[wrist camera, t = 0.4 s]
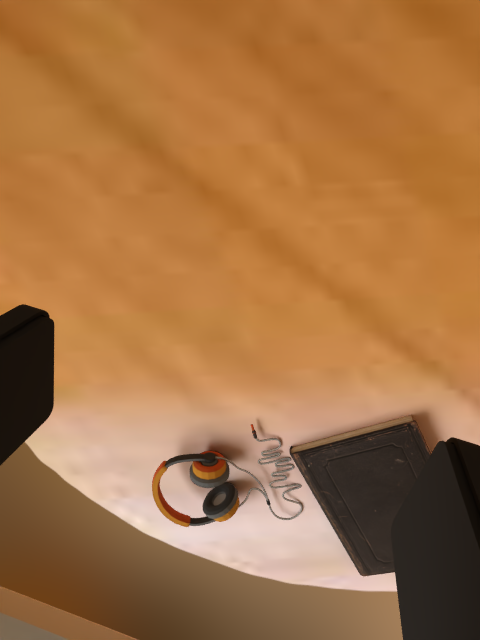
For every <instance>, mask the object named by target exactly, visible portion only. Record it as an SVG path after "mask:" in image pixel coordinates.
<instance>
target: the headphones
mask: <svg viewBox="0 0 480 640" xmlns="http://www.w3.org/2000/svg"><path fill="white" fill-rule="evenodd" d="M251 427H252V433H253V436H254V438H255V439H256V440H257V441H259V442H263V441H269V440H278V441H279V444H280V445H279V447H277V448H275V449H271V450H267V451H263V452H261V454H262V456H271V455H275V456H271V457H267V458H262V459H259V460H258V463H259V464H261V465H262V464H269V463H273V462H276V463H275V466H276V467H286V466H292V468H290V469H287V470H282V471H277V472H273V473H272V474H271V476H272V477H285V478H284V479H280V480H274V481H272V482H270V483H269V486H270V487H271V488H283V487H290V486H299V487H296V488H292V489H289V490H287V491H285V492H283V494H282V497H283V498H284V499H285V500H287V501H290V502H294V503H297V504H299V505H300V506H301V510H300V512H299V513H298V514H297V515H295V516H294V517H291V518H281V517H279V516H277V515H276V514H275V513H274V512H273V511H272V509H271V506H270V501H269V499H268V496H267V493H266V491H265V489H264V487H263V486H262V484H261V483H260V481H259V480H258V479H257V478H256V477H255V476H254V475H252V474H251V473H250V472H248V471H246V470H244V469H241V468H239V467H237V466H236V465H235V464H234V463H233V462H232V461H230V460H228V459H226V458H224V456H223V455H222V454H220V453H218V452H215V451H206V452H202V453H200V454H187V455H180V456H176V457H173V458H171V459H169V460H168V461H163V462H162V463H161V464H160V466H159V467H158V469H157V470H156V472H155V474H154V477H153V481H152V492H153V497H154V500H155V502H156V505H157V507H158V508H159V510H160V511H161V512H162V514H163V515H164V516H165V517H167V518H168V519H169V520H171V521H172V522H174V523H176V524H179V525H181V526H185V527H188V526H189V525H190V526H200V525H205V524H209V523H211V522H214V521H219V522H222V521H226V520H228V519H229V518H231V517H232V516H233V515H234V514H235V513H236V511H237V509H238V507H240V506H241V505H243V504H244V503H245V501H246V500H247V498H248V496H249V494H250V491H251V490H259V491H260V492H261V493H262V494H263V495H264V496H265V498H266V502H267V504H268V505H269V508H270V510H271V512H272V513H273V515H274V516H276V517H277V518H279V519H282V520H291V519H293V518H295V517H297V516H298V515H299V514H300V513H301V511H302V504H301V503H299V502H296V501H293V500H289V499H287V498H285V497H284V494H285V493H287V492H289V491H292V490H295V489H298V488H301V485H300V484H292V485H285V486H277V487H273V486H271V484H272V483H274V482H278V481H284V480H286V479H287V476H286V475H273V474H276V473H281V472H286V471H290V470H292V469H294V465H292V464H287V465H277V464H279V463H284V462H289V461H291V458H289V457H286V458H282V459H278V460H274V461H270V462H265V463H260V461H261V460H266V459H271V458H275V457H278V456H280V453H279V452H277V453H272V454H263V453H266V452H270V451H274V450H277V449H279V448H280V447H281V441H280V440H279V439H277V438H270V439H264V440H259V439H257V435H256V431H255V430H254V427H253V424H251ZM276 454H278V455H276ZM285 459H289V460H285ZM225 460H226V461H228V462H230V463H232V464H233V465H234V466H235V467H236V468H237V469H239V470H242V471H244V472H246V473H248V474H250V475H251V476H252V477H253V478H254V479H255V480H256V481H257V482H258V483H259V484H260V485H261V487H262V489H263V491H264V492H263V491H262V490H260V489H258V488H251V489H250V490H249V492H248V494H247V497H246V499H245V500H244V501H243V502H242V503H241V504H240V505H239V503H240V502H239V498H238V491H237V489H236V488H235V486H234V485H233V484H231V483H224V482H225V481H226V480H227V479H228V477H229V465H228V464H227V462H226V461H225ZM281 460H285V461H281ZM188 461H193V464H192V465H191V467H190V478H191V480H192V482H193V483H194V484H196V485H198V486H200V487H204V488H213V487H215V488H213V489H212V490H211V491H210V492H209V493H208V495H207V496H206V498H205V500H204V502H203V511H204V513H205V514H206V516H207V517H203V518H191V517H190V516H188V515H184V514H182V513H179V512H177V511H176V510H174V509H173V508H172V507H171V506H170V505H168V503H167V502H166V501H165V499H164V497H163V495H162V493H161V490H160V485H159V483H160V479H161V476H162V475H163V473H164V472H165V471H166V470H167V468H168V467H169V466H171V465H173V464H176V463H180V462H188ZM277 461H280V462H277Z"/></svg>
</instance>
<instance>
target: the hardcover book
mask: <svg viewBox="0 0 480 640" xmlns="http://www.w3.org/2000/svg"><path fill="white" fill-rule="evenodd" d="M290 455H291V457H292V458H293V460H294V462H295V463H296V465H297V467H298V469H299V470H300V472H301V474H302V475H303V477H304V479H305V481H306V482H307V484H308V486H309V487H310V489H311V491H312V493H313V494H314V496H315V498H316V500H317V501H318V503H319V505H320V506H321V508H322V510H323V512H324V513H325V515H326V517H327V518H328V520H329V522H330V524H331V525H332V527H333V529H334V530H335V532H336V534H337V536H338V537H339V539H340V541H341V543H342V544H343V546H344V548H345V549H346V551H347V553H348V555H349V556H350V558H351V560H352V561H353V563H354V565H355V567H356V568H357V570H358V572H359V573H360V575H362V576H369V575H377V574H384V573H391V572H395V567H394V559H393V550H392V542H391V527H392V523H393V520H394V518H395V516H396V514H397V513H398V511H399V509H400V507H401V506H402V504H403V502H404V500H405V499H406V497H407V495H408V493H409V492H410V490H411V488H412V487H413V485H414V483H415V481H416V480H417V478H418V476H419V474H420V473H421V471H422V469H423V467H424V466H425V464H426V462H427V461H428V459H429V457H430V455H431V453H430V451H429V449H428V447H427V445H426V442H425V440H424V438H423V436H422V434H421V432H420V429H419V427H418V425H417V423H416V421H415V420H414V421H413V419H412V417H411V415H410V416H406V417H402V418H399V419H395V420H391V421H388V422H384V423H380V424H377V425H373V426H369V427H366V428H362V429H358V430H354V431H351V432H347V433H343V434H340V435H336V436H332V437H329V438H325V439H321V440H317V441H314V442H310V443H306V444H303V445H299V446H295V447H292V446H291V447H290Z"/></svg>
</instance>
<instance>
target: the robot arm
mask: <svg viewBox="0 0 480 640" xmlns="http://www.w3.org/2000/svg"><path fill="white" fill-rule="evenodd" d="M53 404H54V322H53V320H52V319H50V318H49V314H48V313H47V312H46V311H44V310H41V309H38V308H35V307H31V306H28V305H23V304H22V305H19V306H17V307H15V308H14V309H12V310H10V311H8V312H6V313H5V314H3V315H1V316H0V465H1V464H2V463H3V462H4V461H5V460H6V459H7V458H8V457H9V456H10V455H11V454H12V453H13V452H14V451H15V450H16V449H17V448H18V447H19V446H20V445H21V444H22V443H23V442H25V441H26V440H27V439H28V438H29V437H30V436H31V435H32V434H33V433H34V432H35V431H36V430H37V429H38V428H39V427H40V426H41V425H42V424H43V423H44V422H45V421H46V420H47V418H48V417H49V416H50V414H51V412H52V409H53ZM391 542H392V550H393V559H394V567H395V575H396V584H397V592H398V599H399V609H400V617H401V626H402V634H403V640H480V446H479V445H476V444H473V443H470V442H466V441H463V440H460V439H457V438H450V439H448V440H447V441H446V442H444V441H440V442H438V444H437V445H436V447H435V448H434V450H433V452H432V454H431V455H430V457H429V459H428V461H427V462H426V464H425V466H424V467H423V469H422V471H421V473H420V474H419V476H418V478H417V480H416V481H415V483H414V485H413V487H412V488H411V490H410V492H409V493H408V495H407V497H406V499H405V500H404V502H403V504H402V506H401V507H400V509H399V511H398V513H397V514H396V516H395V518H394V520H393V523H392V527H391ZM0 640H138V639H135V638H133V637H130V636H127V635H125V634H122V633H119V632H117V631H115V630H112V629H109V628H107V627H104V626H102V625H99V624H97V623H94V622H91V621H89V620H86V619H84V618H81V617H79V616H76V615H73V614H71V613H68V612H66V611H63V610H61V609H58V608H55V607H53V606H50V605H48V604H45V603H43V602H40V601H37V600H35V599H32V598H30V597H27V596H24V595H22V594H19V593H17V592H14V591H11V590H9V589H6V588H3V587H1V586H0Z"/></svg>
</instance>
